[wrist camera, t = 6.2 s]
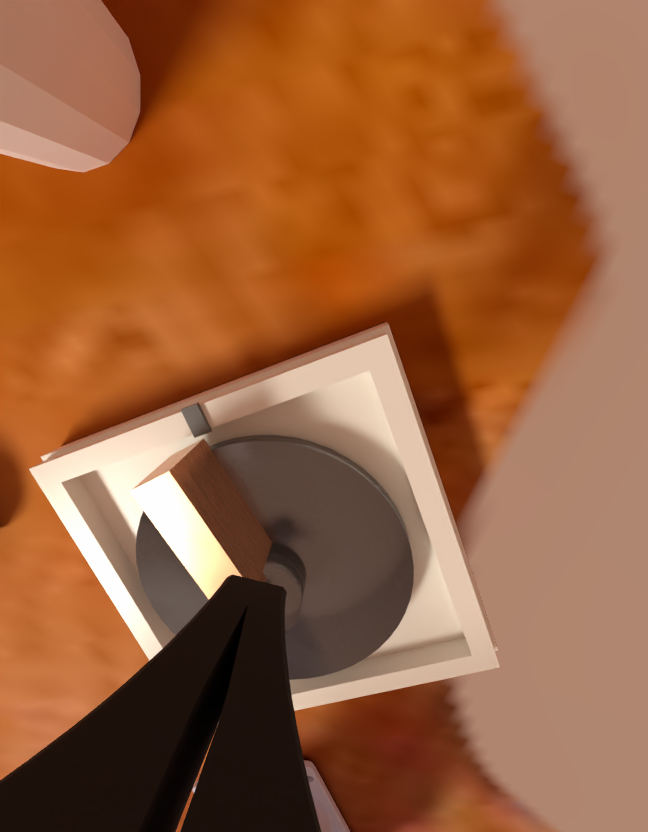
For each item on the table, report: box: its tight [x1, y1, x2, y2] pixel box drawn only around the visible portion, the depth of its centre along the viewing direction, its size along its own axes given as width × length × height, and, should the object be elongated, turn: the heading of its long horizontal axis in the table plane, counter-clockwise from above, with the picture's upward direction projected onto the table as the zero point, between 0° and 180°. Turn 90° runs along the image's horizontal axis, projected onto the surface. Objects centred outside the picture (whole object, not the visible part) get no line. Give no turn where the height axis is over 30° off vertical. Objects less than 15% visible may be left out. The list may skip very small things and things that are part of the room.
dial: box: [130, 435, 414, 680], centre depth 16 cm, size 12×12×4 cm
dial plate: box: [29, 322, 500, 723], centre depth 18 cm, size 16×16×2 cm
